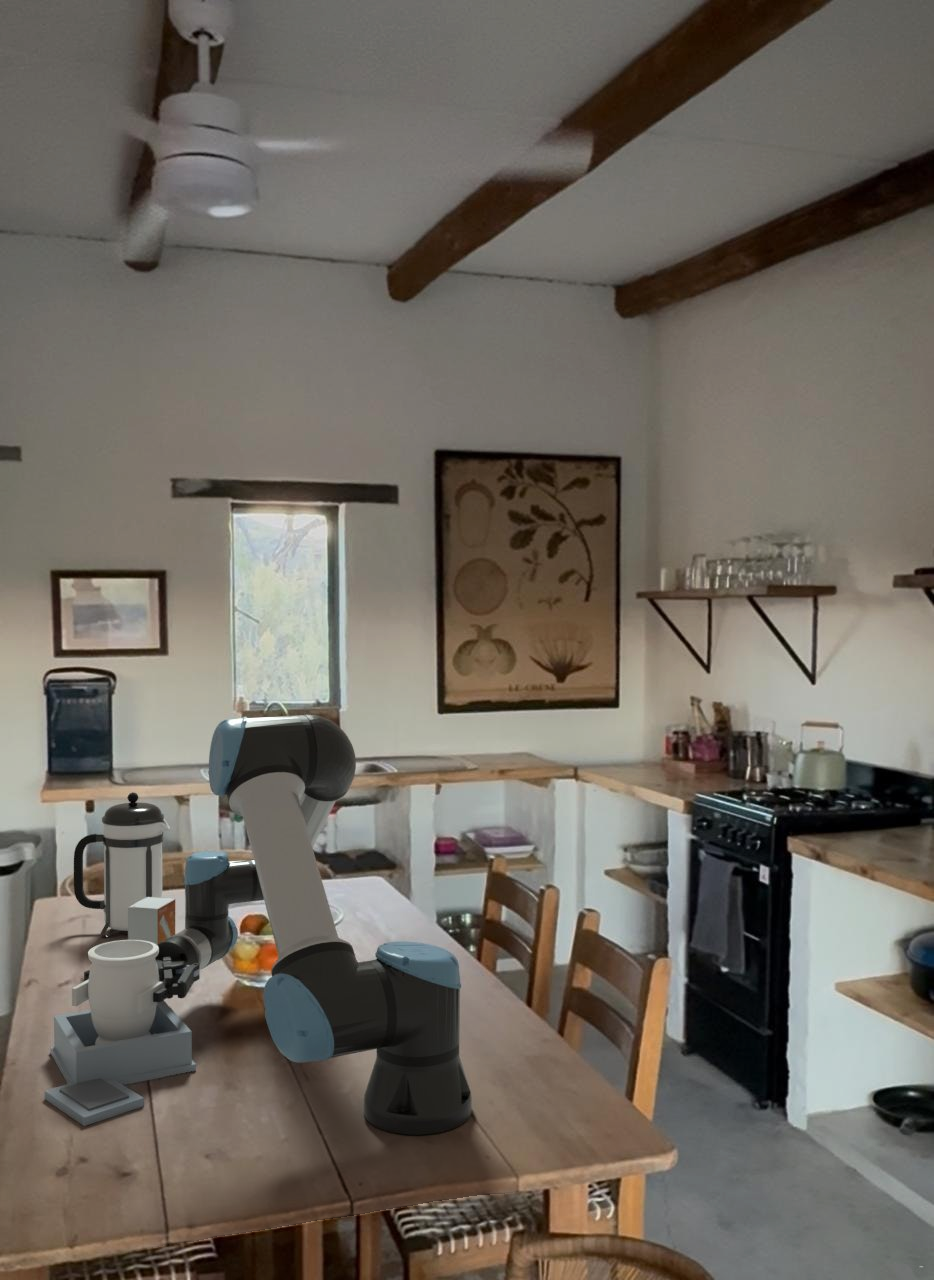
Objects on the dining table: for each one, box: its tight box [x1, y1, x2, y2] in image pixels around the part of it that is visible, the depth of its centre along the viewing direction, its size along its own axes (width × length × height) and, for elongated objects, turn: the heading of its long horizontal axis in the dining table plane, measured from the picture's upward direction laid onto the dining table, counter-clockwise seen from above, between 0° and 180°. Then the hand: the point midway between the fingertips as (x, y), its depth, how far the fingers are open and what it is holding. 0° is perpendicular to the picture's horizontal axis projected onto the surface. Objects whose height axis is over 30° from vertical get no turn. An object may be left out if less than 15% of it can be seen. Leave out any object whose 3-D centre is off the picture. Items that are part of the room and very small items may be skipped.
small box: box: [127, 897, 176, 944], centre depth 227 cm, size 8×6×13 cm
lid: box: [44, 1078, 145, 1127], centre depth 167 cm, size 12×9×2 cm
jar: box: [87, 939, 159, 1045], centre depth 182 cm, size 11×10×15 cm
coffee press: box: [73, 792, 171, 938], centre depth 252 cm, size 17×16×30 cm
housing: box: [49, 1000, 197, 1086], centre depth 182 cm, size 18×18×6 cm
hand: (106, 1000), depth 177 cm, fingers closed on jar, 10 cm apart
